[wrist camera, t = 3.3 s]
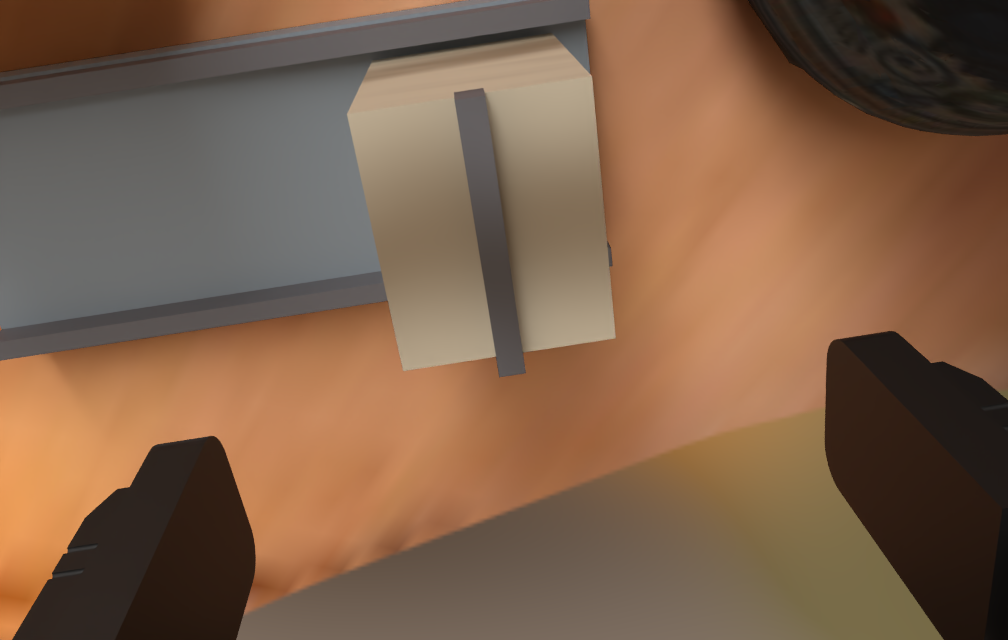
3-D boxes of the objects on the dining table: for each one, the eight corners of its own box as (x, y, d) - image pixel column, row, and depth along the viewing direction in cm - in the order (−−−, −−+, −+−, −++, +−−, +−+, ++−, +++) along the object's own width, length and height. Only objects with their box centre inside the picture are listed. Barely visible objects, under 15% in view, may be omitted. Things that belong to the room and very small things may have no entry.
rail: (-74, 83, 25) (-126, 100, 22) (574, -17, 25) (587, -9, 22) (31, 328, 28) (-5, 364, 26) (598, 240, 28) (612, 269, 26)
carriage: (371, 56, 23) (341, 117, 16) (551, 29, 23) (597, 78, 16) (413, 263, 26) (402, 392, 19) (573, 238, 26) (623, 358, 19)
